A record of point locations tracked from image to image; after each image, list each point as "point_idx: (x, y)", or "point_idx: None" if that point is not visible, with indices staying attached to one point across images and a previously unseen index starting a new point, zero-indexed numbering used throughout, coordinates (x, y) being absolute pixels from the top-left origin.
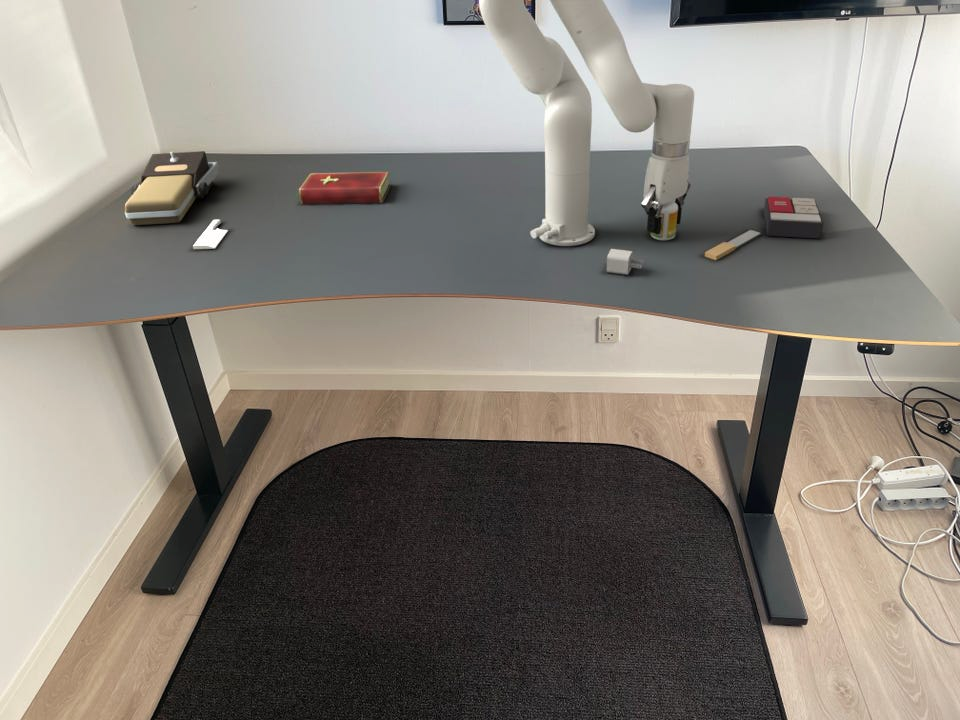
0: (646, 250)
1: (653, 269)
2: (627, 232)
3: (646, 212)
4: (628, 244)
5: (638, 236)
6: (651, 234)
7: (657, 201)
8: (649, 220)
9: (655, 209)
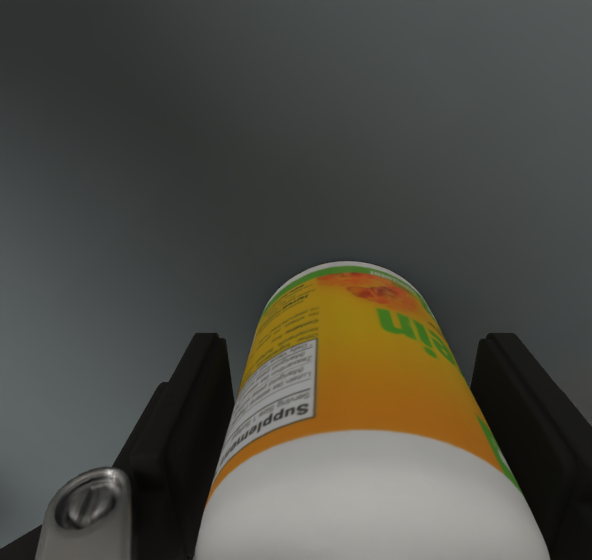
0: (106, 382)
1: (5, 504)
2: (196, 93)
3: (50, 503)
4: (60, 256)
5: (211, 219)
6: (265, 307)
7: (366, 545)
8: (128, 448)
9: (197, 547)
